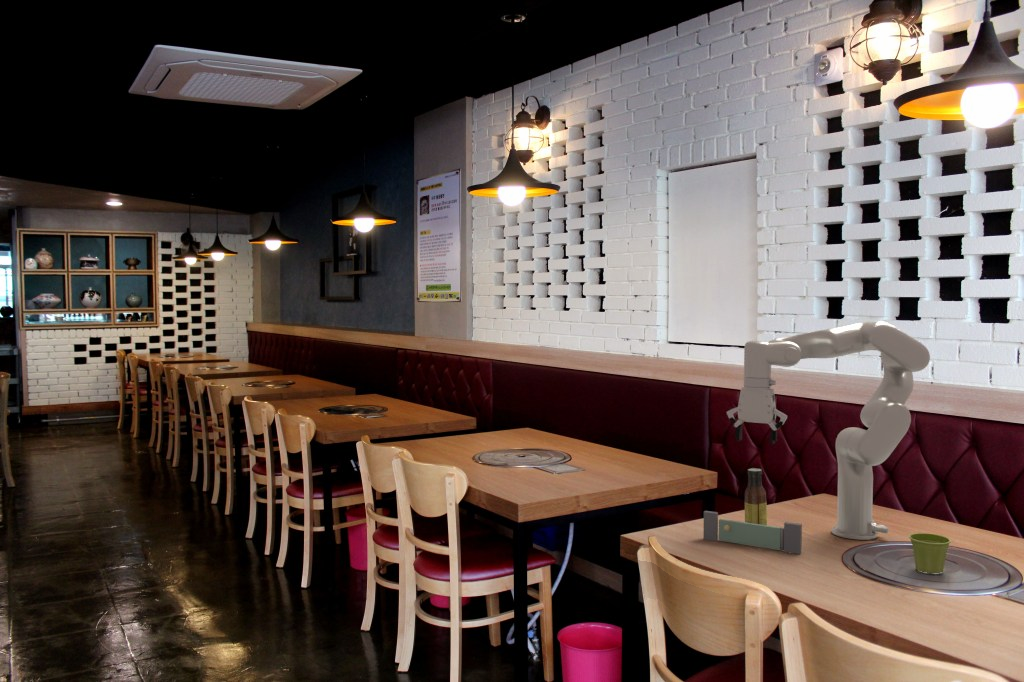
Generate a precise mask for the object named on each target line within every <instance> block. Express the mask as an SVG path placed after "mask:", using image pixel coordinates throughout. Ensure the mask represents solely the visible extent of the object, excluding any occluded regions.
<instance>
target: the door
mask: <svg viewBox="0 0 1024 682" xmlns="http://www.w3.org/2000/svg"><path fill="white" fill-rule="evenodd" d="M718 541H719V542H720V541H721V542H726V543H727V542H728V543H733V544H738V545H740V544H741V545H746V546H752V547H757V548H758V547H759V548H766V549H772V550H778V551H784V527H781V526H773V525H768V524H767V525H760V524H753V523H746V522H745V521H738V520H730V519H725V518H718Z"/></svg>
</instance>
